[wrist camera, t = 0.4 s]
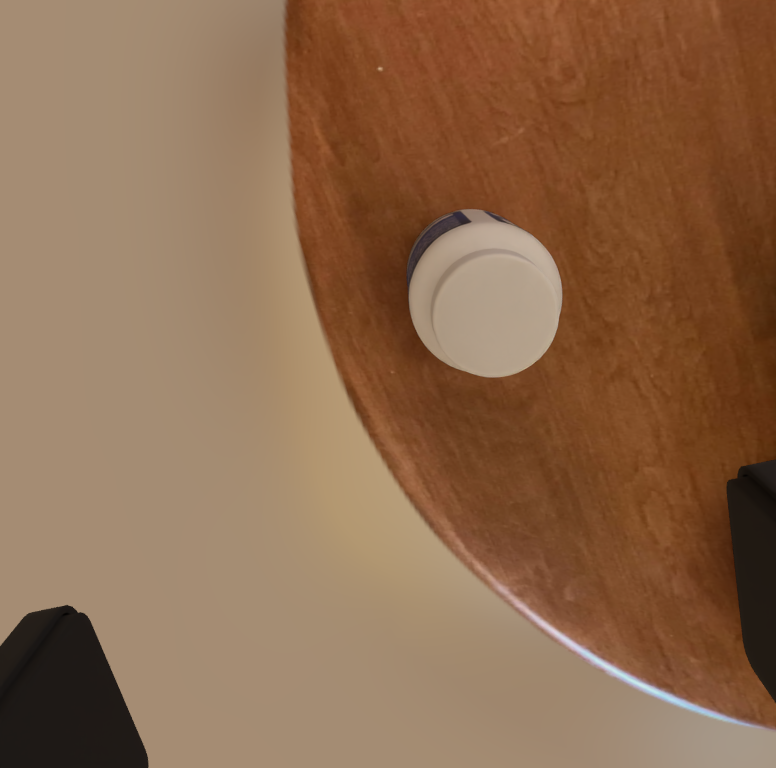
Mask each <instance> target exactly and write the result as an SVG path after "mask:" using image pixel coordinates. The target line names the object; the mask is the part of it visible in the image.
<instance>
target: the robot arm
mask: <svg viewBox="0 0 776 768" xmlns="http://www.w3.org/2000/svg"><path fill="white" fill-rule="evenodd" d="M727 499H728V509H729V518H730V527H731V536H732V545H733V554H734V563H735V572H736V581H737V591H738V600H739V609H740V618H741V627H742V636H743V643H744V648H745V652H746V655H747V657H748V660H749V662H750V664H751V667H752V668H753V670H754V672H755V673H756V675H757V676H758V678H759V679H760V681H761V682H762V684H763V685H764V686H765V688H766V689H767V691H768V692H769V694H770V695H771V697H772V698H773V700H774V701H775V703H776V460H771V461H766V462H761V463H757V464H752V465H747V466H742V467H741V468H740V469H739V471H738V478H736V479H732V480H729V481H728V482H727ZM0 768H148V757H147V753H146V750H145V748H144V745H143V743H142V741H141V738H140V736H139V734H138V731H137V729H136V727H135V724H134V722H133V720H132V717H131V715H130V713H129V710H128V708H127V706H126V703H125V701H124V699H123V696H122V694H121V692H120V689H119V687H118V685H117V682H116V680H115V678H114V675H113V673H112V671H111V668H110V666H109V664H108V661H107V659H106V657H105V654H104V652H103V650H102V647H101V645H100V642H99V640H98V638H97V636H96V633H95V631H94V629H93V626H92V624H91V621H90V620H89V618H88V616H86V615H85V614H84V613H81V612H80V613H78V612H77V611H76V610H75V609H74V608H73V607H71V606H68V605H65V606H61V607H56V608H51V609H46V610H41V611H37V612H32V613H29V614H27V615H26V616H25V617H24V618H23V619H22V620H21V621H20V623H19V624H18V625H17V626H16V627H15V629H14V630H13V631H12V632H11V634H10V635H9V636H8V637H7V639H6V640H5V641H4V642H3V643H2V645H1V646H0Z"/></svg>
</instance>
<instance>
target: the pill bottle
mask: <svg viewBox="0 0 776 768" xmlns="http://www.w3.org/2000/svg"><path fill="white" fill-rule="evenodd" d="M407 285H408V301H409V310H410V313H411V317H412V321H413V324H414V327H415V329H416V331H417V334H418V336H419V337H420V339H421V340H422V342H423V343H424V345H425V346H426V347H427V348H428V349H429V350H430V352H431V353H432V354H434V355H435V356H436V357H437V358H438V359H440V360H441V361H443V362H444V363H446V364H448V365H449V366H452V367H454V368H456V369H459V370H462V371H466V372H469V373H471V374H475V375H478V376H483V377H504V376H509V375H512V374H516V373H518V372H520V371H522V370H524V369H526V368H528V367H529V366H531V365H532V364H534V363H535V362H536V361H537V360H538V359H540V358H541V357H542V355H543V354H544V353H545V352H546V351H547V349H548V348H549V346H550V344H551V343H552V341H553V339H554V336H555V334H556V330H557V328H558V322H559V315H560V312H561V306H562V285H561V279H560V275H559V272H558V269H557V266H556V264H555V262H554V260H553V258H552V256H551V255H550V253H549V252H548V251H547V249H546V248H545V247H544V246H543V245H542V244H541V243H540V242H539V241H538V240H537V239H536V238H535V237H534V236H533V235H531V234H530V233H529V232H527V231H525V230H524V229H522V228H520V227H518V226H517V225H515V224H513V223H511V222H510V221H508V220H507V219H505V218H503V217H501V216H499V215H497V214H494V213H491V212H488V211H483V210H476V209H465V210H458V211H454V212H451V213H448V214H446V215H443V216H441V217H439V218H438V219H436V220H435V221H433V222H432V223H431V224H429V225H428V226H427V227H426V228H425V229H424V230H423V231H422V232H421V234H420V235H419V236H418V238H417V239H416V241H415V243H414V245H413V247H412V249H411V252H410V255H409V259H408V264H407Z"/></svg>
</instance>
